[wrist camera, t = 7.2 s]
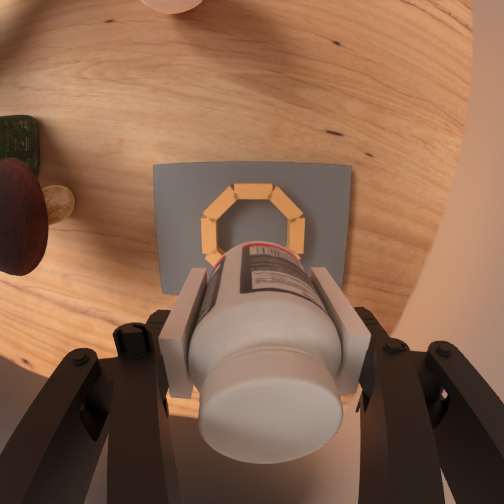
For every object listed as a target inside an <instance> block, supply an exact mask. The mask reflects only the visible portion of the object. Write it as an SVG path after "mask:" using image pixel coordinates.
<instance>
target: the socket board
mask: <svg viewBox="0 0 504 504" xmlns="http://www.w3.org/2000/svg"><path fill="white" fill-rule="evenodd" d="M153 173H154V201H155V219H156V233H157V246H158V257H159V267H160V276H161V285H162V293H163V294H179V293H180V291H181V289H182V287H183V285H184V283H185V281H186V279H187V277H188V275H189V273H190V271H191V269H192V268H207V284H208V281H209V278H210V275H211V272H212V270H213V268H214V266H215V264H216V263H217V261H218V260H219V259H220V258H221V257H222V256H223V255H224V254H225V253H226V252H227V251H229V250H230V249H232V248H233V247H235V246H237V245H239V244H242V243H246V242H251V241H267V242H272V243H276V244H278V245H281V246H283V247H285V248H286V249H288V250H289V251H291V252H292V253H293V254H294V255H295V256H296V257H297V258H298V260H299V261H300V262H301V264H302V266H303V268H304V270H305V271H306V273H307V275H308V277H309V279H310V273H311V267H325V268H326V270H327V271H328V272H329V274H330V275H331V277H332V278H333V279H334V281H335V282H336V284H337V285H338V286H339V288H340V289H341V290H342V282H343V274H344V265H345V256H346V246H347V235H348V223H349V209H350V191H351V166H345V165H331V164H315V163H293V162H197V163H176V164H160V165H153Z"/></svg>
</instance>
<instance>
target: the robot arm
mask: <svg viewBox="0 0 504 504" xmlns="http://www.w3.org/2000/svg"><path fill="white" fill-rule="evenodd" d="M310 280H311V282H312V284H313V286H314V288H315V290H316V292H317V293H318V295H319V297H320V299H321V301H322V303H323V305H324V307H325V309H326V311H327V313H328V315H329V316H330V318H331V320H332V322H333V323H334V325H335V327H336V330H337V333H338V336H339V339H340V343H341V351H342V357H341V365H340V369H339V372H338V375H337V377H336V379H335V381H334V382H335V385H336V387H337V390H338V393H339V395H343V394H351V393H356V390H357V387H358V384H359V383H360V385H361V387H362V389H363V390H362V393H361V396H360V399H359V402H358V405H357V408H356V412H358V411H359V408H360V422H361V423H360V427H361V449H360V450H361V451H360V481H359V482H360V483H359V499H358V504H445V498H444V490H443V483H442V476H441V470H442V472H443V474H444V477H445V479H446V481H447V483H448V485H449V488H450V490H451V492H452V495H453V497H454V500H455V502H456V504H504V404H503V402H502V401H501V400H500V398H499V397H498V396H497V395H496V393H495V392H494V391H493V390H492V389H491V387H490V386H489V385H488V383H487V382H486V381H485V380H484V379H483V377H482V376H481V375H480V374H479V373H478V371H477V370H476V369H475V368H474V367H473V366H472V364H471V363H470V362H469V361H468V360H467V359H466V358H465V356H464V355H463V354H462V353H461V352H460V351H459V350H458V348H457V347H455V346H454V345H453V344H451V343H449V342H446V341H435V342H432V343H431V344H430V345H429V347H428V350H427V352H417V351H410V349H409V347H408V345H407V344H406V343H404V342H403V341H401V340H399V339H395V338H390V337H389V336H388V334H387V333H386V331H385V330H384V329H383V327H382V326H381V325H380V324H379V322H378V321H377V319H375V317H374V315H373V314H372V313H371V312H370V311H369V310H367V309H365V308H364V307H352V305H351V304H350V302H349V301H348V299H347V298H346V296H345V295H344V294H343V292H342V291H341V289H340V288H339V286H338V285H337V284H336V282H335V281H334V279H333V278H332V277H331V275H330V274H329V272H328V271H327V270H326V268H325V267H311V273H310ZM206 288H207V268H192V269H191V271H190V273H189V275H188V277H187V279H186V281H185V283H184V285H183V287H182V289H181V291H180V293H179V295H178V297H177V300H176V302H175V304H174V306H173V308H172V310H157V311H156V312H154V313H153V314H151V315H150V317H149V319H148V320H147V323H146V324H143V323H127V324H124V325H122V326H119V327H118V328H117V329H115V331H114V332H113V337H114V341H115V345H116V348H117V352H118V357H114V358H105V359H98V357H97V354H96V352H95V351H93V350H92V349H89V348H78V349H75V350H73V351H71V352H69V353H68V354H67V355H66V356H65V357H64V358H63V360H62V361H61V363H60V364H59V365H58V367H57V368H56V369H55V371H54V372H53V374H52V375H51V376H50V378H49V379H48V381H47V382H46V384H45V385H44V387H43V388H42V389H41V391H40V392H39V394H38V395H37V397H36V398H35V400H34V401H33V403H32V404H31V406H30V407H29V409H28V410H27V412H26V413H25V415H24V416H23V418H22V420H21V421H20V423H19V424H18V426H17V427H16V429H15V431H14V432H13V434H12V436H11V437H10V439H9V441H8V442H7V444H6V446H5V448H4V449H3V451H2V453H1V455H0V504H84V502H85V499H86V495H87V492H88V489H89V486H90V483H91V480H92V477H93V474H94V471H95V468H96V465H97V463H98V460H99V457H100V454H101V451H102V449H103V446H104V443H105V441H106V438H107V435H108V433H109V438H108V458H107V504H183V500H182V495H181V490H180V484H179V479H178V473H177V468H176V461H175V455H174V449H173V442H172V435H171V427H170V419H169V410H168V403H167V399H166V394H167V391H168V388H169V392H170V396H171V397H174V398H186V399H191V395H192V390H193V385H194V383H193V381H192V378H191V376H190V372H189V366H188V353H189V345H190V340H191V337H192V334H193V331H194V328H195V325H196V322H197V319H198V316H199V312H200V308H201V305H202V302H203V298H204V295H205V292H206ZM444 390H445V391H446V392H447V394H448V396H447V398H446V399H445V398H444V397H443V396H442V393H443V391H444ZM440 468H441V470H440Z"/></svg>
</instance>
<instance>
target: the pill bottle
mask: <svg viewBox="0 0 504 504" xmlns="http://www.w3.org/2000/svg"><path fill="white" fill-rule="evenodd" d="M341 357H342V351H341V343H340V339H339V336H338V333H337V330H336V327H335V325H334V323H333V322H332V320H331V318H330V316H329V315H328V313H327V311H326V309H325V307H324V305H323V303H322V301H321V299H320V297H319V295H318V293H317V292H316V290H315V288H314V286H313V284H312V282H311V280H310V279H309V277H308V275H307V273H306V271H305V270H304V268H303V266H302V264H301V262H300V261H299V260H298V258H297V257H296V256H295V255H294V254H293V253H292V252H291V251H289V250H288V249H286V248H285V247H283V246H281V245H278V244H276V243H272V242H267V241H251V242H246V243H242V244H239V245H237V246H235V247H233V248H232V249H230V250H229V251H227V252H226V253H225V254H224V255H223V256H222V257H221V258H220V259H219V260H218V261H217V263H216V264H215V266H214V268H213V270H212V272H211V275H210V278H209V281H208V284H207V288H206V292H205V295H204V298H203V302H202V305H201V308H200V312H199V316H198V319H197V322H196V325H195V328H194V331H193V334H192V337H191V340H190V345H189V353H188V366H189V372H190V376H191V378H192V381H193V383H194V385H195V387H196V388H197V390H198V391H199V393H200V407H199V417H198V424H199V430H200V433H201V435H202V437H203V439H204V440H205V441H206V442H207V443H208V445H210V447H212V448H213V449H214V450H216V451H217V452H219V453H221V454H223V455H225V456H227V457H230V458H233V459H235V460H239V461H243V462H248V463H259V464H268V463H279V462H285V461H290V460H294V459H297V458H301V457H303V456H306V455H308V454H310V453H312V452H314V451H315V450H317V449H319V448H321V447H322V446H323V445H325V444H326V443H327V442H328V441H329V440H330V439H331V438H332V437H333V436H334V435H335V434H336V433H337V431H338V429H339V428H340V425H341V423H342V419H343V406H342V403H341V399H340V396H339V393H338V390H337V387H336V385H335V382H334V381H335V379H336V377H337V375H338V372H339V369H340V365H341Z"/></svg>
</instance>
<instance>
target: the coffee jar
mask: <svg viewBox="0 0 504 504" xmlns="http://www.w3.org/2000/svg"><path fill="white" fill-rule="evenodd" d="M9 157H11V158H17V159H19V160H21V161H22V162H24V163H25V164H26V165H27V166H28V167H29V168H30V169H31V171H32V172H33V174H34V175H35V177H36V175H37V172H38V165H39V137H38V127H37V123H36V121H35V119H34V118H33V117H32V116H29V115H9V116H0V159H3V158H9Z"/></svg>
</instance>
